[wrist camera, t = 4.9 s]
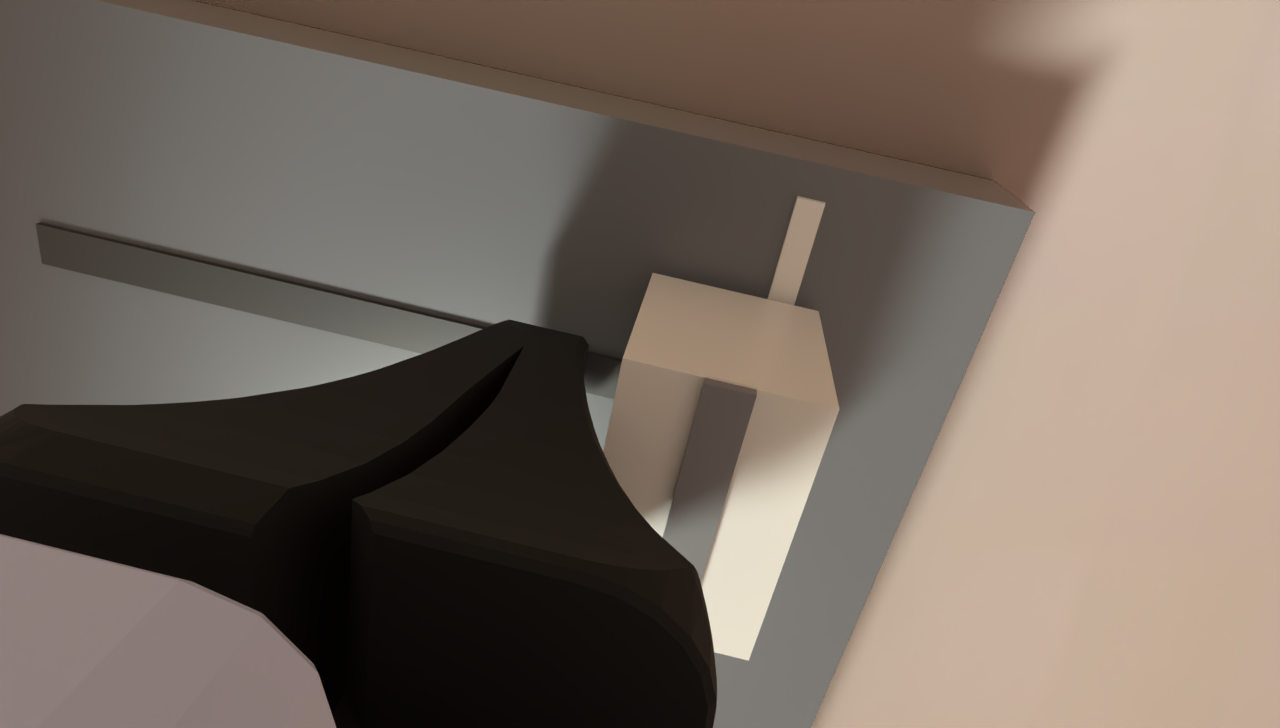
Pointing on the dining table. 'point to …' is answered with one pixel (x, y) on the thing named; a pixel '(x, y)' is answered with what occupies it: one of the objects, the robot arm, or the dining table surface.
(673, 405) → the block
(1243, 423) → the dining table surface
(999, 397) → the dining table surface
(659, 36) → the dining table surface
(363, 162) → the console
